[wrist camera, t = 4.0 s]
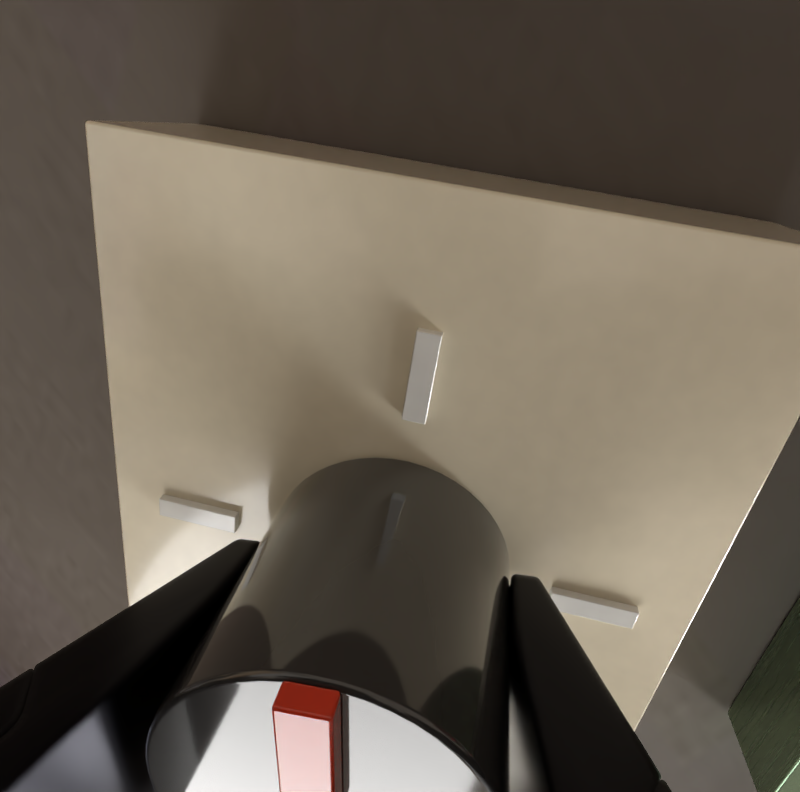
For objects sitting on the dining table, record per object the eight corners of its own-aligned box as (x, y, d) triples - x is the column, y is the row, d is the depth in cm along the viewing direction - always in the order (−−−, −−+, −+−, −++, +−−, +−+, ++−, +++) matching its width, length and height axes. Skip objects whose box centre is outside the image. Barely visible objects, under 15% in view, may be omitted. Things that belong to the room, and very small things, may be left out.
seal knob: (496, 661, 10) (488, 983, 6) (283, 624, 11) (156, 900, 7) (524, 471, 8) (536, 755, 5) (268, 441, 9) (89, 671, 5)
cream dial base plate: (569, 702, 14) (584, 839, 12) (201, 607, 15) (132, 713, 13) (775, 222, 9) (892, 261, 6) (195, 122, 10) (73, 119, 7)
